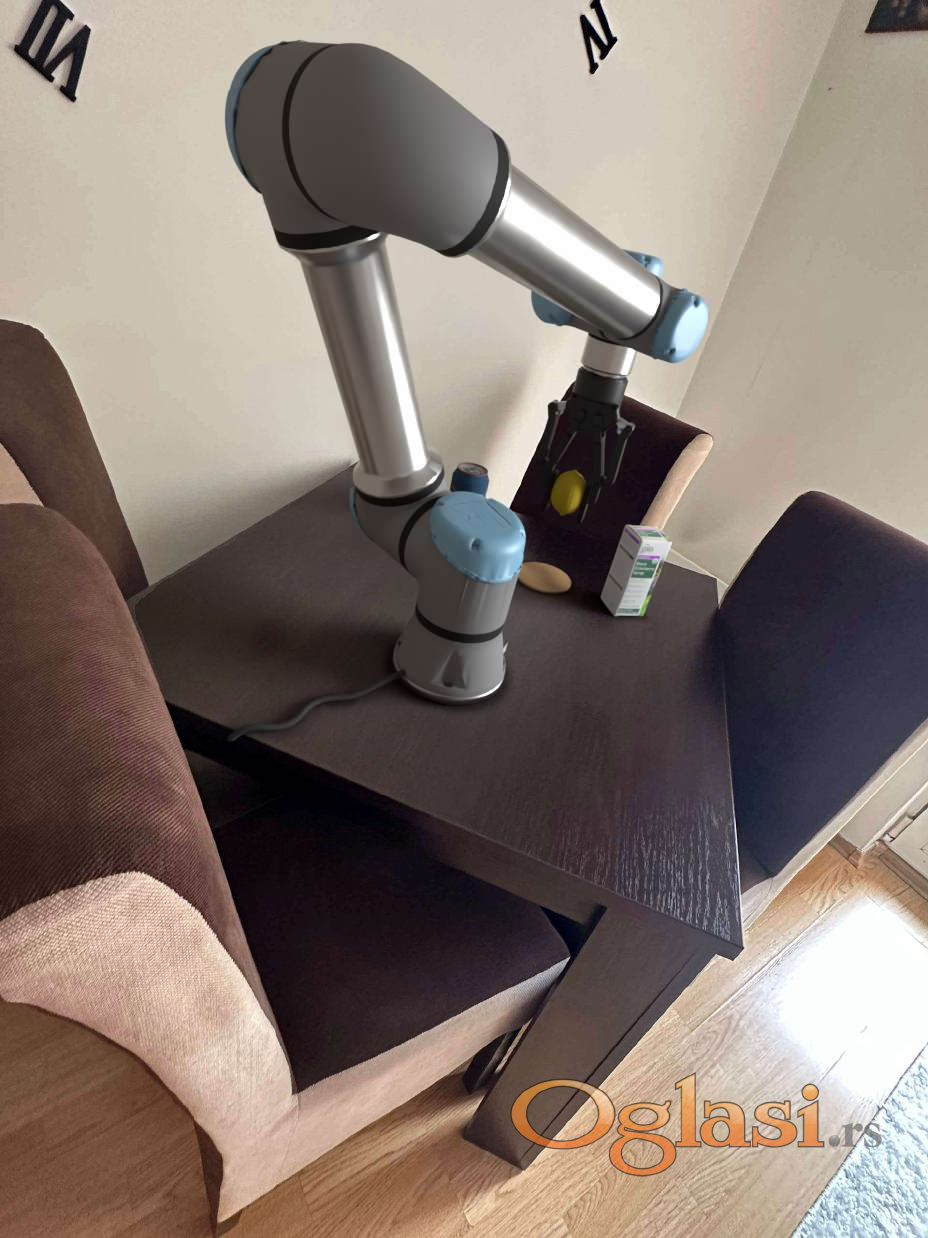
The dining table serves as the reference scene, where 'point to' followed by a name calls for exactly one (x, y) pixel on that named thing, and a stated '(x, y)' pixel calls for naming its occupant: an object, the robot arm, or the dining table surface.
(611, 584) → the syrup box
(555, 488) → the lemon
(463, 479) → the soda can
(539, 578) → the coaster
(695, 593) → the dining table surface
